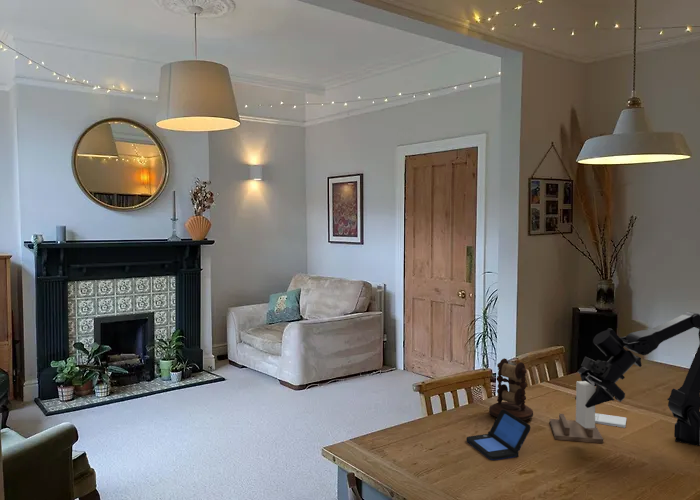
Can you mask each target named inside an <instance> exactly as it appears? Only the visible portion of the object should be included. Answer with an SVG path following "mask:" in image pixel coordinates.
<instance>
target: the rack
mask: <svg viewBox="0 0 700 500" xmlns="http://www.w3.org/2000/svg"><path fill="white" fill-rule="evenodd" d="M549 424H550V427H551V429H552V434H553V436H554V439H555V440H560V441H561V440H562V441H571V442H572V441H573V442H584V443H595V444H596V443H597V444H604V438H603V436H602V434H601V432H600V431H599V429H598V427H597V425H596V424H595V428H584V427H583V426H582V425H580V424H579V423H578V422H576V420H572V419H571V420H569V419H567V418H566V416H565V414H564V413H559V414H558V418H557V419H556V418H555V419H554V418H549Z"/></svg>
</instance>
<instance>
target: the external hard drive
mask: <svg viewBox="0 0 700 500" xmlns="http://www.w3.org/2000/svg"><path fill="white" fill-rule="evenodd" d="M595 424H597V425H604V426H610V427H616V426H617V427H618V428H623V429H626V426H627V417H624V416H618V415H611V414H610V415H609V414H605V413H604V414H603V413H598V412H595Z"/></svg>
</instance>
